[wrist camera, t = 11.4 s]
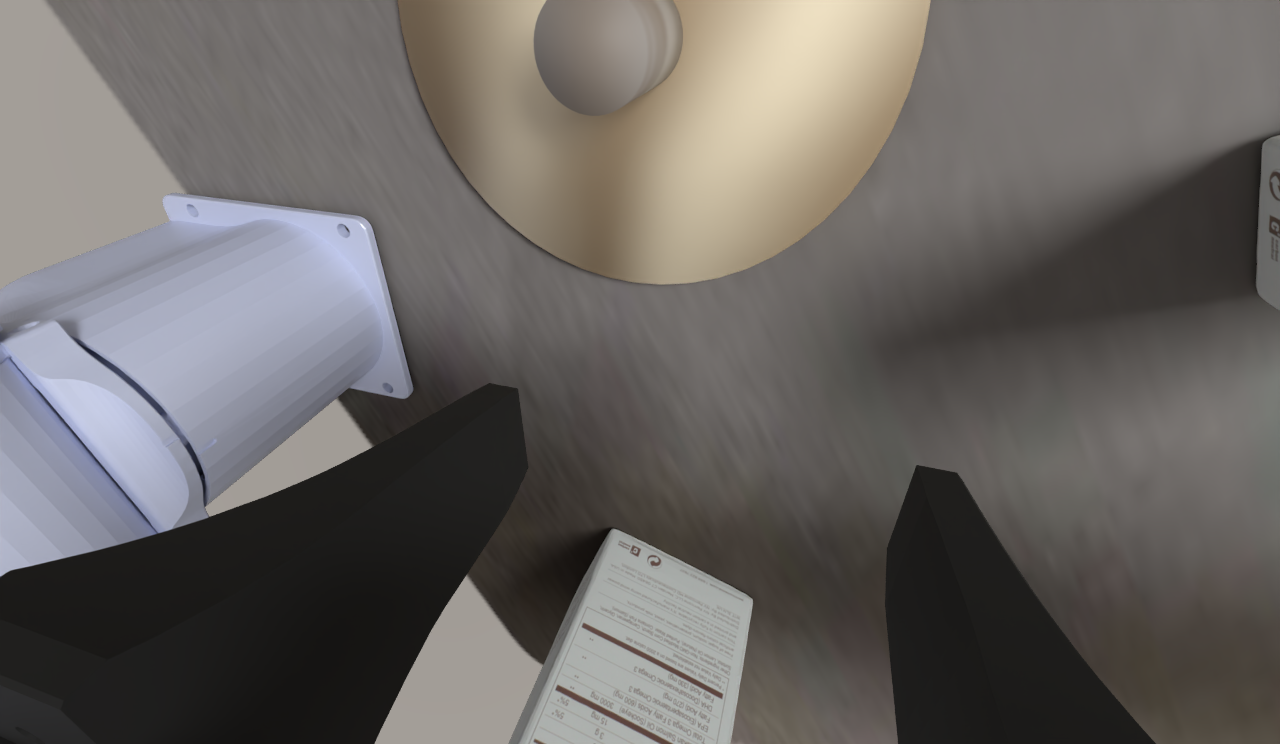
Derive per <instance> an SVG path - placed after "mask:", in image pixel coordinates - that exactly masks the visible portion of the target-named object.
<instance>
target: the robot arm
mask: <svg viewBox="0 0 1280 744" xmlns="http://www.w3.org/2000/svg"><path fill="white" fill-rule="evenodd" d="M163 206H164V208H165V211H166V213H167V215H168V217H169V220H170V222H167V223H164V224H162V225H159V226H156V227H154V228H151V229H148V230H145V231H143V232H140V233H138V234H135V235H132V236H129V237H127V238H124V239H121V240H119V241H116V242H113V243H111V244H108V245H105V246H103V247H100V248H97V249H95V250H92V251H89V252H86V253H84V254H81V255H78V256H76V257H73V258H70V259H68V260H65V261H63V262H60V263H57V264H54V265H52V266H49V267H46V268H44V269H41V270H38V271H36V272H33V273H30V274H28V275H25V276H23V277H21V278H19V279H17V280H15V281H13V282H11V283H9V284H8V285H6V286H5V287H3V288H2V289H1V290H0V744H374V743H375V741H376V739H377V736H378V734H379V732H380V730H381V728H382V726H383V724H384V722H385V720H386V718H387V716H388V714H389V712H390V710H391V708H392V706H393V704H394V702H395V700H396V698H397V696H398V694H399V691H400V690H401V687H402V685H403V683H404V681H405V679H406V677H407V675H408V673H409V672H410V670H411V668H412V666H413V664H414V662H415V660H416V658H417V656H418V654H419V653H420V651H421V649H422V647H423V645H424V643H425V641H426V639H427V637H428V635H429V633H430V632H431V630H432V628H433V626H434V625H435V623H436V621H437V620H438V618H439V616H440V615H441V613H442V611H443V610H444V608H445V606H446V605H447V603H448V602H449V600H450V599H451V597H452V596H453V594H454V593H455V591H456V590H457V588H458V587H459V585H460V584H461V582H462V581H463V579H464V578H465V576H466V575H467V573H468V572H469V570H470V569H471V567H472V566H473V564H474V562H475V561H476V559H477V558H478V556H479V555H480V553H481V552H482V550H483V549H484V547H485V546H486V544H487V543H488V541H489V540H490V538H491V537H492V535H493V533H494V532H495V530H496V529H497V527H498V526H499V524H500V523H501V521H502V519H503V518H504V516H505V515H506V513H507V511H508V509H509V507H510V505H511V503H512V501H513V499H514V497H515V495H516V493H517V491H518V489H519V487H520V485H521V482H522V480H523V478H524V476H525V474H526V472H527V469H528V462H527V454H526V447H525V439H524V432H523V424H522V417H521V409H520V402H519V394H518V389H517V388H512V387H506V386H501V385H496V384H491V383H489V384H487V385H485V386H483V387H481V388H479V389H477V390H475V391H473V392H472V393H470V394H468V395H466V396H464V397H463V398H461V399H459V400H457V401H455V402H454V403H452V404H450V405H448V406H447V407H445V408H443V409H441V410H440V411H438V412H436V413H435V414H433V415H431V416H429V417H427V418H426V419H424V420H422V421H420V422H419V423H417V424H415V425H413V426H411V427H410V428H408V429H406V430H404V431H403V432H401V433H399V434H397V435H395V436H394V437H392V438H390V439H388V440H386V441H384V442H382V443H380V444H378V445H376V446H374V447H372V448H371V449H369V450H367V451H365V452H363V453H361V454H359V455H357V456H355V457H353V458H351V459H349V460H347V461H345V462H343V463H341V464H339V465H337V466H335V467H333V468H331V469H329V470H327V471H325V472H322V473H320V474H318V475H316V476H314V477H311V478H309V479H307V480H304V481H302V482H300V483H298V484H295V485H293V486H290V487H288V488H286V489H283V490H281V491H279V492H276V493H274V494H271V495H269V496H266V497H264V498H261V499H258V500H255V501H252V502H250V503H247V504H244V505H242V506H239V507H236V508H233V509H230V510H228V511H225V512H222V513H220V514H216V515H214V516H211V517H209V515H208V513H207V511H206V509H205V506H207V505H208V504H209V503H210V502H212V501H213V500H214V499H215V498H216V497H218V496H219V495H220V494H221V493H222V492H224V491H225V490H226V489H227V488H228V487H229V486H231V485H232V484H233V483H234V482H236V481H237V480H238V479H239V478H241V477H242V476H243V475H244V474H245V473H247V472H248V471H249V470H250V469H251V468H252V467H254V466H255V465H256V464H257V463H259V462H260V461H261V460H262V459H264V458H265V457H266V456H267V455H268V454H269V453H271V452H272V451H273V450H274V449H275V448H277V447H278V446H279V445H280V444H282V443H283V442H284V441H285V440H286V439H287V438H289V437H290V436H291V435H292V434H294V433H295V432H296V431H297V430H298V429H300V428H301V427H302V426H303V425H305V424H306V423H307V422H308V421H309V420H311V419H312V418H313V417H314V416H315V415H317V414H318V413H319V412H320V411H321V410H322V409H324V408H325V407H326V406H327V405H329V404H330V403H331V402H332V401H334V400H335V399H336V398H337V397H338V396H340V395H341V394H342V393H343V392H344V391H346V390H347V389H348V388H352V389H357V390H362V391H366V392H371V393H376V394H381V395H386V396H391V397H395V398H400V399H405V398H407V397H409V396H410V395H411V394H412V392H413V385H412V381H411V377H410V374H409V370H408V366H407V362H406V358H405V354H404V350H403V346H402V342H401V338H400V334H399V330H398V326H397V322H396V318H395V315H394V311H393V307H392V303H391V299H390V295H389V291H388V287H387V283H386V279H385V275H384V271H383V267H382V263H381V259H380V255H379V252H378V248H377V244H376V240H375V236H374V232H373V229H372V227H371V225H370V223H369V222H368V221H367V220H366V219H364V218H363V217H360V216H356V215H348V214H340V213H332V212H324V211H316V210H308V209H300V208H292V207H284V206H276V205H268V204H260V203H252V202H244V201H236V200H228V199H220V198H212V197H204V196H196V195H188V194H180V193H171V194H168V195H165V196H164V198H163ZM345 226H346V227H347V228H348V229H349V231H350V233H349V232H348V231H347V230H346V228H345ZM885 607H886V619H887V630H888V641H889V652H890V662H891V673H892V683H893V694H894V704H895V714H896V725H897V735H898V744H1156V743H1155V742H1154V741H1153V740H1152V739H1151V738H1150V737H1149V736H1148V735H1147V733H1146V732H1145V731H1144V730H1143V729H1142V728H1141V727H1140V726H1139V724H1138V723H1137V722H1136V721H1135V720H1134V719H1133V717H1132V716H1131V715H1130V714H1129V713H1128V712H1127V710H1126V709H1125V708H1124V707H1123V706H1122V705H1121V703H1120V702H1119V701H1118V700H1117V699H1116V698H1115V697H1114V695H1113V694H1112V693H1111V692H1110V691H1109V690H1108V688H1107V687H1106V686H1105V685H1104V684H1103V683H1102V681H1101V680H1100V679H1099V678H1098V677H1097V675H1096V674H1095V673H1094V672H1093V670H1092V669H1091V668H1090V667H1089V665H1088V664H1087V663H1086V662H1085V660H1084V659H1083V658H1082V657H1081V655H1080V654H1079V653H1078V651H1077V650H1076V649H1075V648H1074V646H1073V645H1072V644H1071V642H1070V641H1069V640H1068V638H1067V637H1066V636H1065V634H1064V633H1063V632H1062V630H1061V629H1060V628H1059V626H1058V625H1057V624H1056V622H1055V621H1054V620H1053V618H1052V617H1051V616H1050V614H1049V613H1048V611H1047V610H1046V609H1045V607H1044V606H1043V604H1042V603H1041V602H1040V600H1039V599H1038V597H1037V596H1036V595H1035V593H1034V592H1033V590H1032V589H1031V587H1030V586H1029V584H1028V583H1027V581H1026V580H1025V578H1024V577H1023V575H1022V574H1021V573H1020V571H1019V570H1018V568H1017V567H1016V565H1015V564H1014V562H1013V561H1012V559H1011V558H1010V556H1009V555H1008V553H1007V552H1006V550H1005V549H1004V547H1003V546H1002V544H1001V542H1000V541H999V539H998V538H997V536H996V534H995V533H994V531H993V530H992V528H991V527H990V525H989V523H988V522H987V520H986V518H985V517H984V515H983V514H982V512H981V510H980V509H979V507H978V505H977V504H976V502H975V500H974V499H973V497H972V495H971V494H970V492H969V490H968V489H967V487H966V485H965V484H964V482H963V481H962V479H961V478H960V476H959V475H958V474H957V473H955V472H950V471H945V470H940V469H935V468H929V467H924V466H919V465H917V466H916V468H915V471H914V474H913V477H912V480H911V482H910V485H909V488H908V491H907V494H906V496H905V499H904V502H903V505H902V508H901V511H900V513H899V516H898V519H897V522H896V525H895V527H894V530H893V533H892V536H891V539H890V541H889V544H888V547H887V564H886V597H885Z"/></svg>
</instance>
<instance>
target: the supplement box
mask: <svg viewBox="0 0 1280 744" xmlns="http://www.w3.org/2000/svg"><path fill="white" fill-rule="evenodd" d="M752 605H753V599H752V598H750V597H749V596H748V595H747V594H745V593H743V592H741V591H739V590H737V589H735V588H734V587H732V586H730V585H728V584H726V583H724V582H722V581H720V580H718V579H716V578H714V577H712V576H710V575H708V574H706V573H704V572H702V571H700V570H698V569H696V568H694V567H692V566H690V565H688V564H686V563H684V562H682V561H680V560H678V559H677V558H675V557H672V556H670V555H668V554H666V553H664V552H662V551H661V550H659V549H656V548H654V547H652V546H650V545H648V544H646V543H644V542H642V541H640V540H638V539H636V538H634V537H632V536H630V535H628V534H626V533H624V532H622V531H619V530H617V529H611V530H610V532H609V533H608V535H607V537H606V538H605V540H604V542H603V543H602V545H601V547H600V549H599V550H598V552H597V554H596V556H595V558H594V560H593V561H592V563H591V565H590V567H589V569H588V570H587V572H586V574H585V576H584V577H583V579H582V581H581V583H580V585H579V587H578V589H577V591H576V593H575V596H574V598H573V600H572V602H571V604H570V606H569V608H568V611H567V613H566V615H565V617H564V620H563V622H562V624H561V626H560V629H559V631H558V633H557V636H556V638H555V640H554V643H553V645H552V647H551V649H550V652H549V654H548V656H547V659H546V661H545V663H544V665H543V667H542V670H541V672H540V674H539V676H538V679H537V681H536V683H535V685H534V688H533V690H532V692H531V694H530V697H529V699H528V701H527V703H526V706H525V708H524V710H523V712H522V714H521V717H520V719H519V721H518V724H517V726H516V728H515V730H514V732H513V735H512V737H511V739H510V741H509V744H730V742H731V736H732V730H733V724H734V718H735V711H736V706H737V700H738V693H739V686H740V681H741V675H742V669H743V662H744V656H745V650H746V644H747V637H748V629H749V623H750V618H751V612H752Z"/></svg>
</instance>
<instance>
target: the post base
mask: <svg viewBox="0 0 1280 744" xmlns="http://www.w3.org/2000/svg"><path fill="white" fill-rule="evenodd" d="M398 7H399V14H400V21H401V28H402V32H403V37H404V41H405V45H406V49H407V53H408V58H409V62H410V65H411V68H412V71H413V74H414V77H415V80H416V83H417V86H418V89H419V92H420V95H421V98H422V100H423V102H424V104H425V107H426V109H427V111H428V113H429V115H430V118H431V120H432V122H433V124H434V127H435V129H436V130H437V132H438V134H439V136H440V138H441V139H442V141H443V143H444V145H445V146H446V148H447V150H448V152H449V153H450V155H451V157H452V158H453V160H454V161H455V162H456V164H457V165H458V167H459V168H460V170H461V171H462V172H463V174H464V175H465V177H466V178H467V180H468V181H469V182H470V184H471V185H472V186H473V187H474V188H475V189H476V190H477V192H478V193H479V194H480V195H481V196H482V197H483V199H484V200H485V201H486V202H487V203H488V204H489V205H490V206H491V207H492V208H493V209H494V210H495V211H496V212H497V213H498V214H499V215H500V216H501V217H502V218H503V219H504V220H505V221H506V222H507V223H509V224H510V225H511V226H512V227H513V228H515V229H516V230H517V231H519V232H520V233H521V234H522V235H524V236H525V237H526V238H528V239H529V240H530V241H532V242H533V243H534V244H536V245H538V246H539V247H541V248H543V249H544V250H546V251H548V252H549V253H551V254H553V255H554V256H556V257H558V258H560V259H562V260H564V261H566V262H569V263H571V264H573V265H575V266H577V267H579V268H581V269H584V270H587V271H590V272H594V273H597V274H600V275H603V276H606V277H609V278H614V279H619V280H624V281H629V282H634V283H647V284H660V285H663V284H683V283H693V282H699V281H704V280H710V279H716V278H719V277H723V276H726V275H729V274H732V273H735V272H739V271H742V270H745V269H747V268H749V267H752V266H754V265H756V264H758V263H760V262H762V261H765V260H767V259H769V258H771V257H773V256H775V255H776V254H778V253H780V252H781V251H783V250H784V249H786V248H788V247H789V246H791V245H792V244H794V243H796V242H797V241H799V240H800V239H801V238H803V237H804V236H805V235H806V234H808V233H809V232H810V231H811V230H813V229H814V228H815V227H816V226H817V225H819V224H820V223H821V222H822V221H824V220H825V219H826V218H827V217H828V216H829V215H830V214H831V213H832V212H833V211H834V210H835V209H836V208H837V207H838V206H839V204H840V203H841V202H842V201H843V200H844V199H845V198H846V197H847V196H848V195H849V194H850V193H851V192H852V190H853V189H854V188H855V186H856V185H857V184H858V182H859V181H860V180H861V178H862V177H863V176H864V174H865V173H866V172H867V170H868V169H869V168H870V166H871V165H872V164H873V162H874V160H875V159H876V157H877V155H878V154H879V152H880V150H881V148H882V147H883V145H884V143H885V142H886V140H887V138H888V136H889V135H890V133H891V131H892V130H893V127H894V125H895V123H896V120H897V118H898V116H899V113H900V111H901V109H902V107H903V104H904V102H905V100H906V97H907V95H908V93H909V90H910V87H911V84H912V80H913V77H914V74H915V70H916V67H917V64H918V60H919V57H920V54H921V51H922V47H923V41H924V35H925V30H926V24H927V18H928V13H929V7H930V0H398Z"/></svg>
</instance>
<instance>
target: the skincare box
mask: <svg viewBox="0 0 1280 744" xmlns="http://www.w3.org/2000/svg"><path fill="white" fill-rule="evenodd" d="M1256 287H1257V290H1258V295H1260V296H1261V297H1262V298H1263V299H1264V300H1265V301H1266V302H1268V303H1269V304H1270V305H1272V306H1273V307H1275V308H1276V309H1277V310H1279V311H1280V135H1278V136H1274V137H1271V138H1269V139H1267V140H1266V141H1265V142H1264V143H1263V146H1262V161H1261V185H1260V193H1259V220H1258V240H1257V275H1256Z"/></svg>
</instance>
